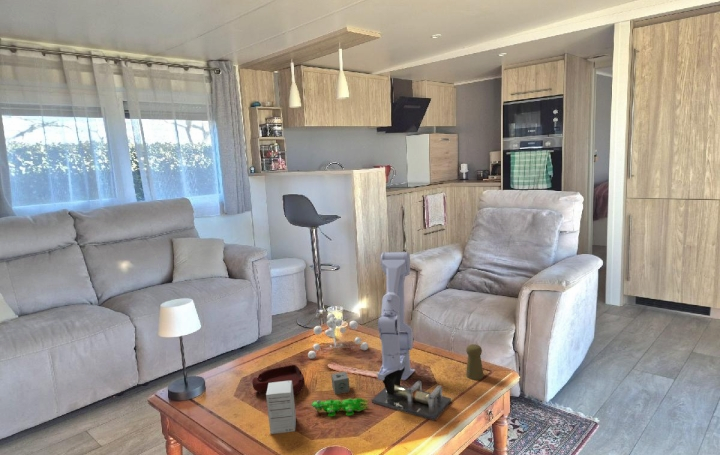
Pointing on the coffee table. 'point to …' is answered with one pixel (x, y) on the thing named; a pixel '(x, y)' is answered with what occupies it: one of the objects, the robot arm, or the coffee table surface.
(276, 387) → the supplement box
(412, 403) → the collar base
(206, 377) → the coffee table surface
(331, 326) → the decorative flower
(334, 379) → the dice cube
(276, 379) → the ashtray
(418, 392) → the brass tube
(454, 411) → the coffee table surface
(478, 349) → the cork
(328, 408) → the green bumpy long piece
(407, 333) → the robot arm
